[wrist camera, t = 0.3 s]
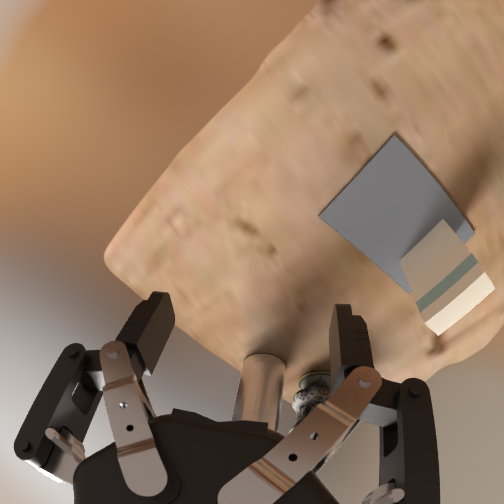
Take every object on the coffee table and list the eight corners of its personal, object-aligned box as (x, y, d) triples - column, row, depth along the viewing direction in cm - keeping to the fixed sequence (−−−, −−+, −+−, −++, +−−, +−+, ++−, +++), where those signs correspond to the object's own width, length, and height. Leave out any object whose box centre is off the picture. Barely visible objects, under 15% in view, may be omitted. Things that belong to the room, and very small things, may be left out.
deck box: (455, 234, 39) (495, 288, 27) (412, 274, 44) (438, 336, 32) (443, 218, 38) (485, 271, 26) (398, 260, 43) (423, 323, 31)
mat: (473, 231, 38) (475, 233, 38) (408, 292, 46) (408, 294, 46) (393, 134, 34) (394, 134, 33) (318, 215, 42) (318, 216, 41)
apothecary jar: (282, 379, 64) (274, 449, 49) (325, 360, 58) (325, 437, 43) (313, 399, 67) (310, 462, 52) (354, 383, 62) (357, 451, 47)
